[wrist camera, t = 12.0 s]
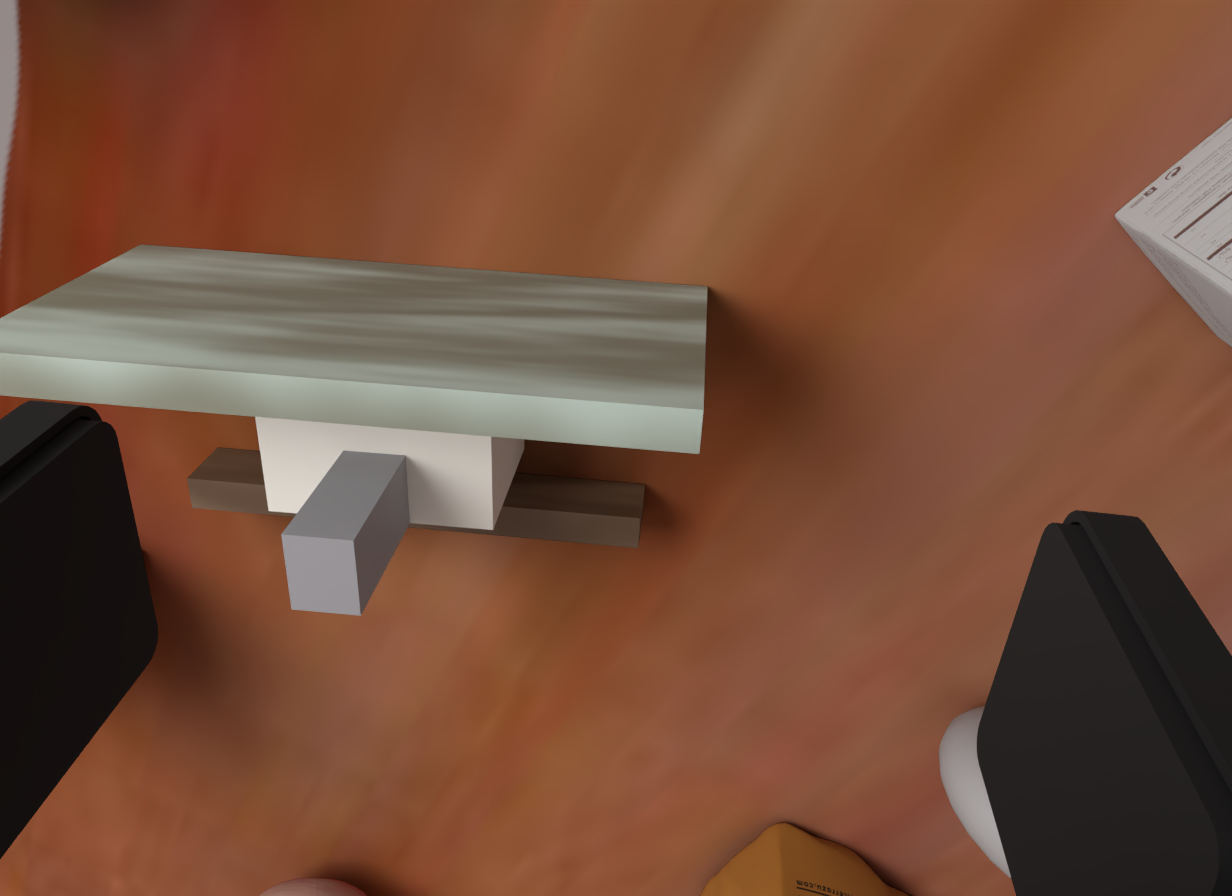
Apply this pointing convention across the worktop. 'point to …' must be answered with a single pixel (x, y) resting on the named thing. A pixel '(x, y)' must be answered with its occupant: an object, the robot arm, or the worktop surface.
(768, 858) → the coffee package
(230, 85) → the worktop surface
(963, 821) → the donut
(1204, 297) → the supplement box
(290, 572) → the white block gray post
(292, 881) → the decorative fruit
